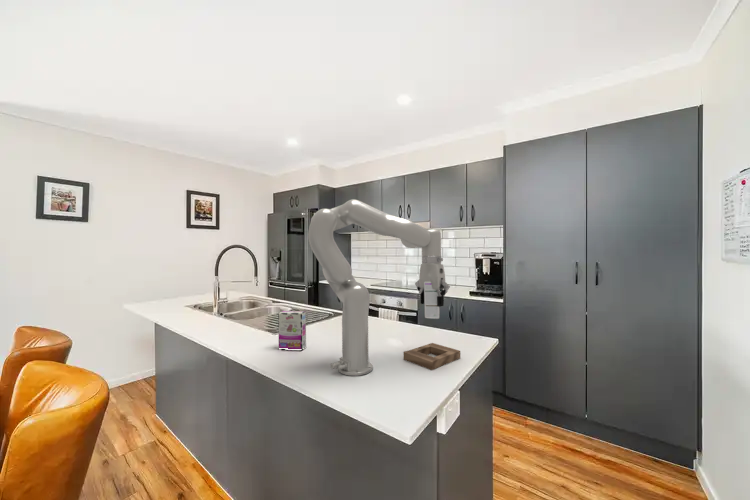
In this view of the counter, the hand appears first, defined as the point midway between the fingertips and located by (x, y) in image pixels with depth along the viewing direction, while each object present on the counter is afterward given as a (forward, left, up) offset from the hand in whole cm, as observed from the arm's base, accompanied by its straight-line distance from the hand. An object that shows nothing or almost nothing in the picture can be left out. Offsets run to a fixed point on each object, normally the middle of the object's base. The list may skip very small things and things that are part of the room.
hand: (431, 304), depth 118 cm
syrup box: (0, 0, -5) cm, 5 cm away
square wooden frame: (0, 0, -22) cm, 22 cm away
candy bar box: (-36, +49, -22) cm, 65 cm away
